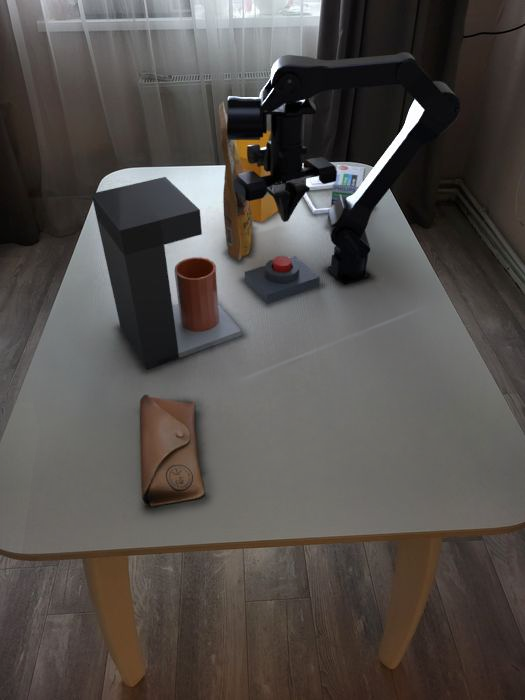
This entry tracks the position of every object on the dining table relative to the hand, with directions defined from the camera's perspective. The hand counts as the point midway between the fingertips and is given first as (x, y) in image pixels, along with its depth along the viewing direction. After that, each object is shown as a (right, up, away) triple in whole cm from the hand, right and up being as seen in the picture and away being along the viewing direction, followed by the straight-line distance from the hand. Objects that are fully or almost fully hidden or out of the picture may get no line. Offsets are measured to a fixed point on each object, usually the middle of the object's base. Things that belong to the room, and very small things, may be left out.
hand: (284, 220), depth 106 cm
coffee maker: (-19, -21, -6) cm, 29 cm away
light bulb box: (+15, +6, +25) cm, 30 cm away
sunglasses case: (-17, -39, -26) cm, 50 cm away
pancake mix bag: (-10, -1, +18) cm, 20 cm away
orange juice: (-6, +9, +29) cm, 30 cm away
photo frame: (+13, +15, +35) cm, 40 cm away
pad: (0, -11, +5) cm, 13 cm away
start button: (0, -9, +3) cm, 9 cm away
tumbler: (-16, -19, -6) cm, 25 cm away
